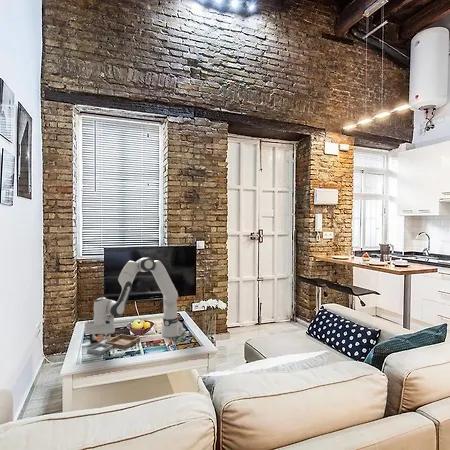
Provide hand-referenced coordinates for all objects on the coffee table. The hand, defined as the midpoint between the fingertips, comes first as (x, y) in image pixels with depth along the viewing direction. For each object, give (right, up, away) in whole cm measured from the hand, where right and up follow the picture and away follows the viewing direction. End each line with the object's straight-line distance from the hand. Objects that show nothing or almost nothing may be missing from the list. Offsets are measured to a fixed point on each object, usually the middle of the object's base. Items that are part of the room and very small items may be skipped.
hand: (100, 339), depth 233 cm
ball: (0, -2, 0) cm, 2 cm away
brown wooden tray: (+13, -8, +12) cm, 19 cm away
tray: (0, -8, 0) cm, 8 cm away
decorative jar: (-11, -8, +38) cm, 40 cm away
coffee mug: (-11, -8, +15) cm, 20 cm away
